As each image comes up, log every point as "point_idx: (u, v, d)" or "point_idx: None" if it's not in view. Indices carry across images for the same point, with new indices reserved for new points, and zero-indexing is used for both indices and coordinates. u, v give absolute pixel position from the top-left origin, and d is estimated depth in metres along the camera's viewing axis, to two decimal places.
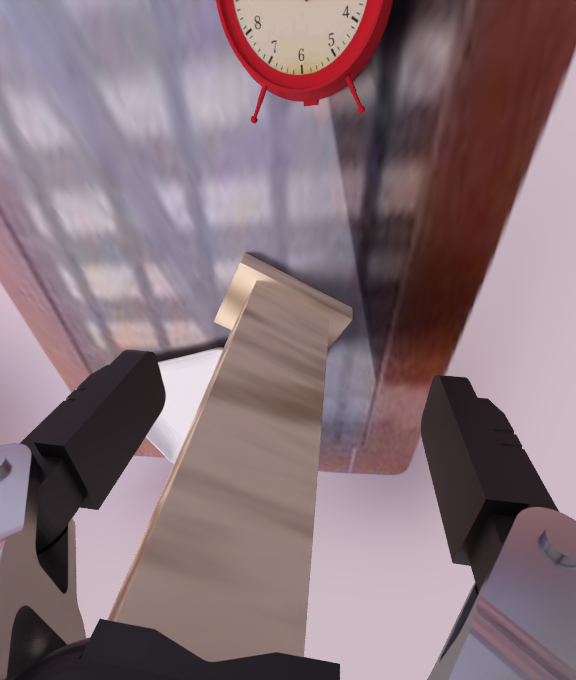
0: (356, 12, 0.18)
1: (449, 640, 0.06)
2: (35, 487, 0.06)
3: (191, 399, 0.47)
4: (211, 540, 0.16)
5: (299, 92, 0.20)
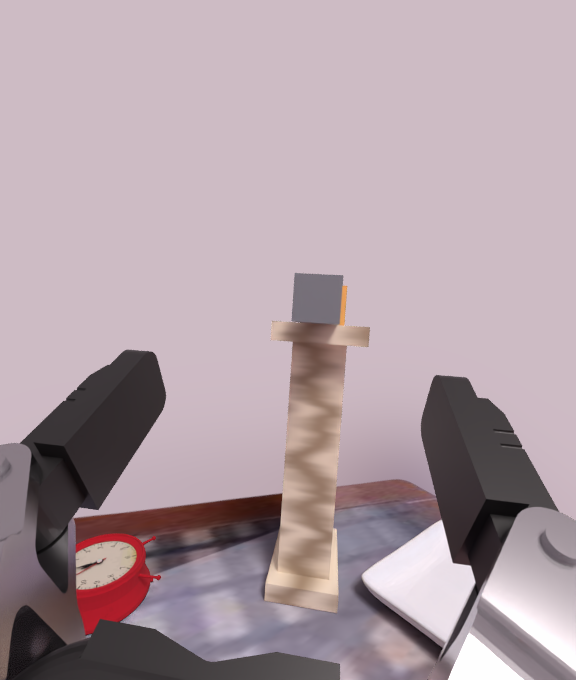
0: (113, 543, 0.40)
1: (449, 640, 0.06)
2: (35, 487, 0.06)
3: None
4: None
5: (144, 551, 0.38)
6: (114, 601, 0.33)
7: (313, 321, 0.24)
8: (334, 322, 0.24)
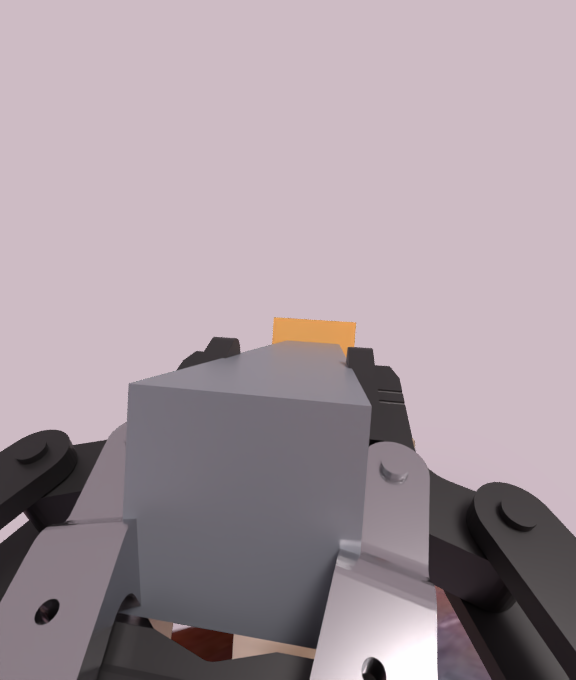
0: None
1: None
2: None
3: None
4: None
5: None
6: None
7: (220, 626, 0.05)
8: None
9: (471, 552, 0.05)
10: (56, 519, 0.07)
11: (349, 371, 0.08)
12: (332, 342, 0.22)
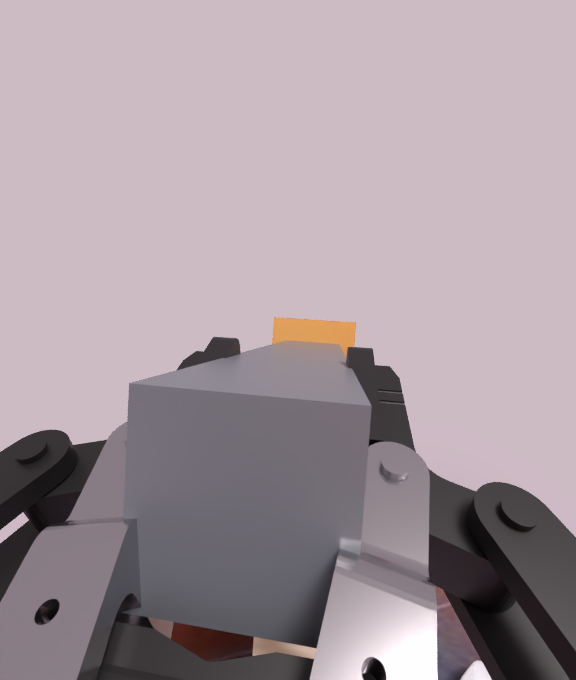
0: None
1: None
2: None
3: None
4: None
5: None
6: None
7: (221, 625, 0.05)
8: None
9: (471, 552, 0.05)
10: (56, 519, 0.07)
11: (349, 371, 0.08)
12: (332, 342, 0.22)
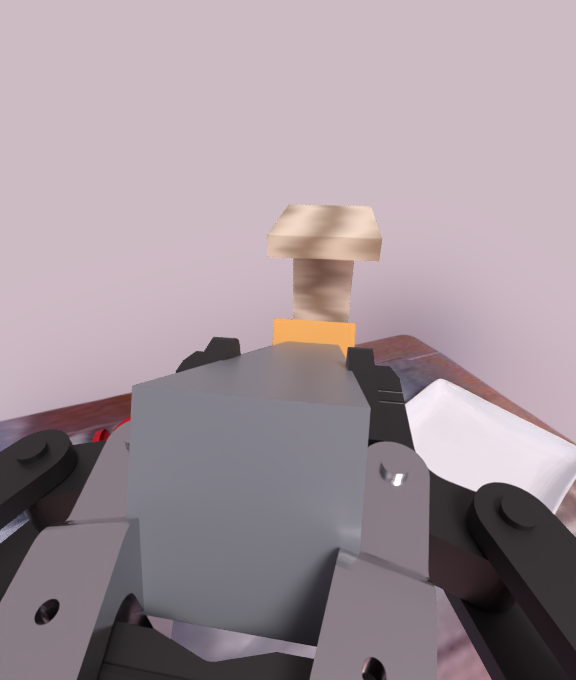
0: None
1: None
2: None
3: (466, 464, 0.45)
4: None
5: None
6: None
7: (222, 623, 0.05)
8: None
9: (471, 552, 0.05)
10: (56, 519, 0.07)
11: (349, 373, 0.08)
12: (332, 343, 0.22)
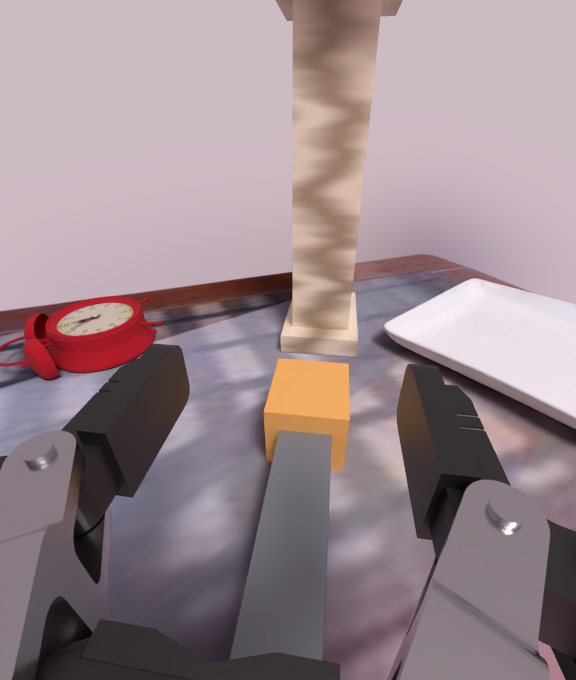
0: (105, 304, 0.39)
1: (413, 616, 0.06)
2: (81, 472, 0.06)
3: (520, 356, 0.34)
4: None
5: (140, 306, 0.37)
6: (122, 343, 0.34)
7: None
8: None
9: None
10: None
11: None
12: (325, 433, 0.22)
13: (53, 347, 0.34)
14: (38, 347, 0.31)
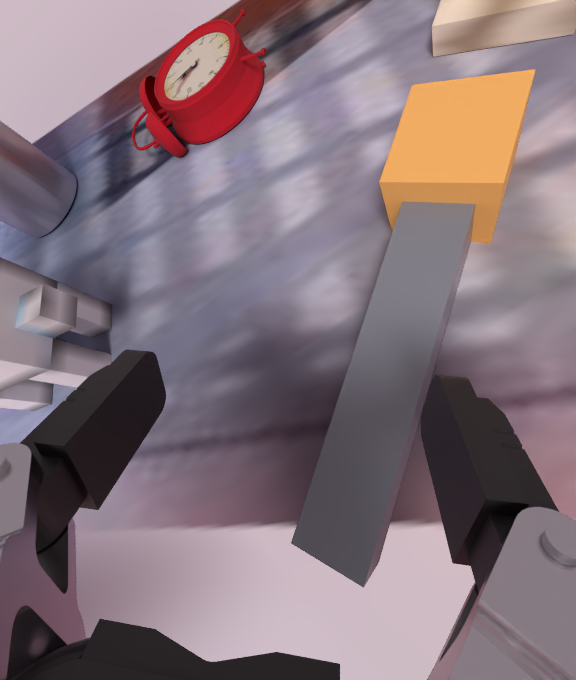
0: (200, 40, 0.31)
1: (449, 640, 0.06)
2: (35, 487, 0.06)
3: None
4: None
5: (235, 30, 0.29)
6: (229, 96, 0.29)
7: None
8: None
9: None
10: None
11: (386, 498, 0.14)
12: (465, 202, 0.16)
13: (171, 118, 0.32)
14: (156, 123, 0.30)
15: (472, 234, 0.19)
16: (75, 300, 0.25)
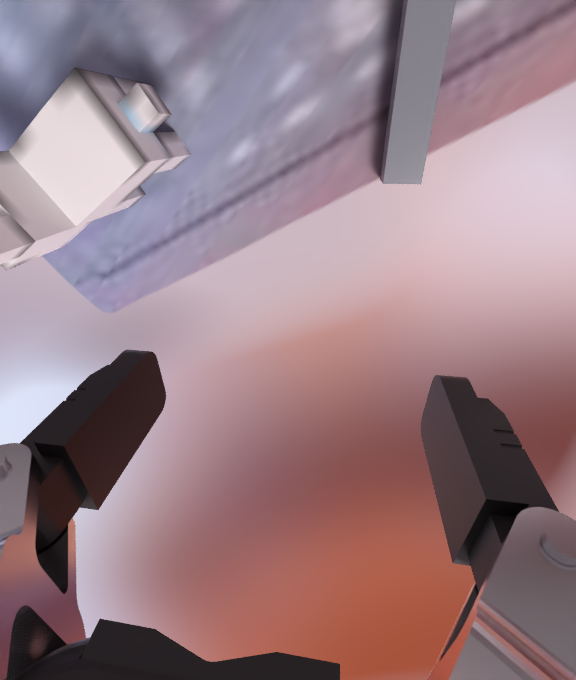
0: None
1: (449, 640, 0.06)
2: (35, 487, 0.06)
3: None
4: None
5: None
6: None
7: None
8: None
9: None
10: None
11: (428, 139, 0.30)
12: None
13: None
14: None
15: None
16: (153, 89, 0.29)
